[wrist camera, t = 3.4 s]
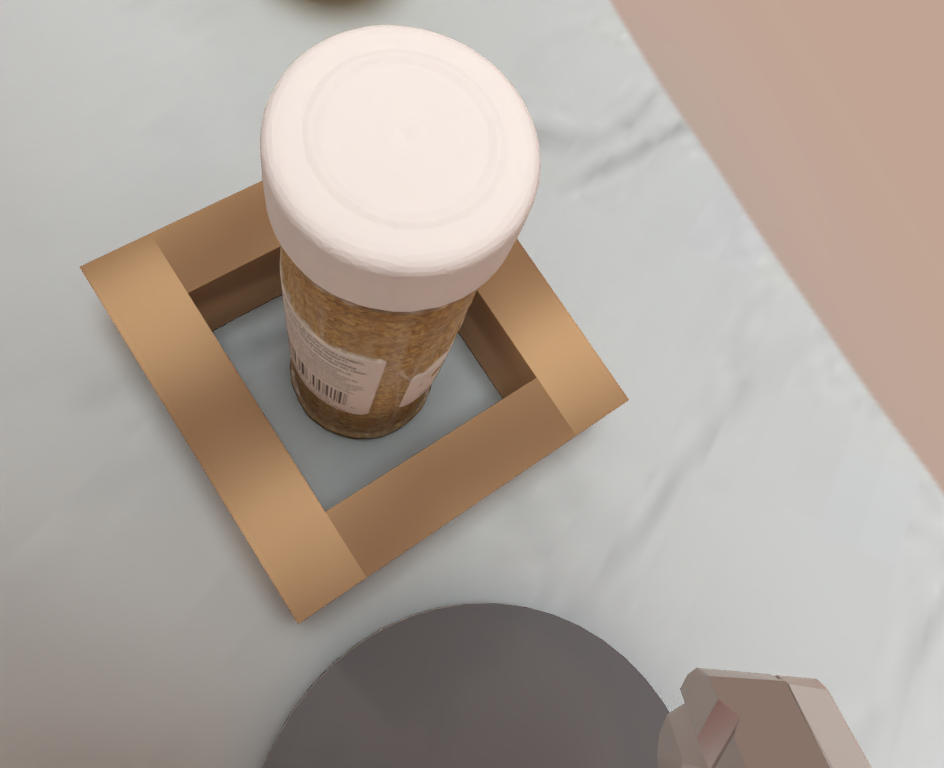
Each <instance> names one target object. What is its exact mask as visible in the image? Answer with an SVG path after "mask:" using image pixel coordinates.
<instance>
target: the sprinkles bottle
mask: <svg viewBox="0 0 944 768" xmlns="http://www.w3.org/2000/svg"><path fill="white" fill-rule="evenodd" d="M260 151H261V168H262V181H263V188H264V195H265V202H266V209H267V213H268V217H269V220H270V223H271V226H272V228H273V231H274V234H275V235H276V237H277V239H278V241H279V243H280V245H281V249H280V250H281V253H280V276H281V285H282V294H283V303H284V311H285V318H286V326H287V333H288V340H289V347H290V352H291V356H292V357H291V362H290V373H291V381H292V386H293V388H294V390H295V392H296V395H297V398H298V400H299V402H300V403H301V404H302V406H303V408H304V409H305V411H306V412H307V414H308V415H309V416H310V417H311V418H312V419H314V420H315V421H317V422H318V423H319V424H320V425H322V426H323V427H325V428H327V429H328V430H330V431H332V432H335V433H338V434H341V435H345V436H348V437H351V438H358V437H362V438H376V437H381V436H384V435H386V434H389V433H391V432H393V431H395V430H397V429H399V428H401V427H402V426H403V425H405V424H406V423H407V422H408V421H409V420H411V419H412V418H413V417H414V416H415V415H416V414H417V413H418V412H419V411H420V410H421V408H422V407H423V405H424V403H425V401H426V398H427V396H428V394H429V392H430V388H431V384H432V382H433V381H434V379H435V378H436V376H437V374H438V372H439V370H440V368H441V366H442V364H443V362H444V360H445V358H446V356H447V354H448V352H449V350H450V349H451V347H452V344H453V342H454V339H455V337H456V335H457V332H458V331H459V329H460V327H461V325H462V323H463V320H464V318H465V315H466V312H467V309H468V308H469V306H470V304H471V303H472V300H473V298H474V295H475V293H476V291H477V289H478V288H479V287H480V286H481V285H483V284H484V283H485V282H486V281H487V280H488V279H489V278H490V277H491V276H492V275H493V274H494V273H495V272H496V271H497V270H498V269H499V267H500V266H501V265H502V263H503V262H504V260H505V258H506V257H507V255H508V253H509V252H510V250H511V248H512V246H513V244H514V242H515V241H516V239H517V237H518V235H519V233H520V231H521V229H522V227H523V225H524V223H525V221H526V219H527V216H528V214H529V212H530V209H531V207H532V204H533V202H534V199H535V196H536V193H537V188H538V184H539V176H540V152H539V142H538V138H537V134H536V130H535V127H534V124H533V121H532V119H531V116H530V114H529V112H528V110H527V108H526V105H525V103H524V102H523V100H522V99H521V97H520V96H519V94H518V92H517V91H516V89H515V88H514V87H513V85H512V84H511V83H510V82H509V81H508V80H507V78H506V77H505V76H504V75H503V74H502V73H501V72H500V71H499V70H498V69H497V68H496V67H495V66H494V65H493V64H492V63H491V62H489V61H488V60H487V59H486V58H484V57H483V56H481V55H480V54H478V53H477V52H476V51H474V50H473V49H471V48H469V47H468V46H466V45H464V44H462V43H460V42H458V41H455V40H453V39H451V38H449V37H446V36H444V35H441V34H438V33H434V32H431V31H428V30H425V29H420V28H414V27H407V26H397V25H376V26H368V27H361V28H357V29H353V30H349V31H345V32H342V33H339V34H337V35H334V36H332V37H329V38H327V39H326V40H324V41H322V42H320V43H318V44H316V45H314V46H313V47H311V48H310V49H308V50H307V51H306V52H304V53H303V54H302V55H301V56H300V57H298V58H297V59H296V60H295V61H294V62H293V63H292V64H291V65H290V66H289V67H288V68H287V70H286V71H285V73H284V74H283V75H282V76H281V77H280V79H279V80H278V82H277V84H276V86H275V87H274V89H273V91H272V93H271V95H270V97H269V100H268V102H267V105H266V107H265V110H264V115H263V120H262V125H261V135H260Z"/></svg>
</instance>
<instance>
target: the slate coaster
mask: <svg viewBox="0 0 944 768" xmlns="http://www.w3.org/2000/svg"><path fill="white" fill-rule="evenodd" d="M668 713H669V711H668V710H667V708H666V706H665V704H664V703H663V701H662V700H661V699H660V697H659V696H658V695H657V693H656V692H655V691H654V689H653V688H652V687H651V685H650V684H649V683H648V681H647V680H646V679H645V678H644V677H643V676H642V675H641V674H640V673H639V672H638V671H637V670H636V669H635V667H634V666H633V665H632V664H631V663H630V662H629V661H628V660H627V659H626V658H625V657H623V656H622V655H621V654H620V653H618V652H617V651H616V650H615V649H613V648H612V647H611V646H610V645H608V644H607V643H606V642H605V641H603V640H602V639H600V638H598V637H597V636H595V635H593V634H592V633H590V632H588V631H587V630H585V629H583V628H582V627H580V626H578V625H576V624H574V623H571V622H569V621H567V620H564V619H562V618H560V617H557V616H555V615H552V614H549V613H545V612H541V611H538V610H534V609H530V608H527V607H519V606H512V605H504V604H493V603H484V604H459V605H452V606H446V607H439V608H434V609H431V610H428V611H424V612H421V613H417V614H414V615H411V616H408V617H406V618H404V619H401V620H399V621H397V622H395V623H392V624H390V625H388V626H386V627H383V628H382V629H380V630H378V631H377V632H375V633H373V634H372V635H370V636H369V637H367V638H365V639H364V640H362V641H360V642H359V643H357V644H356V645H355V646H354V647H352V648H351V649H350V650H349V651H347V652H346V653H345V654H344V655H342V656H341V657H340V658H339V659H337V660H336V661H335V662H334V663H333V664H332V665H331V666H330V667H329V668H328V669H327V670H326V671H325V672H324V673H323V674H322V675H321V676H320V677H319V678H318V679H317V680H316V681H315V682H314V683H313V684H312V685H311V687H310V688H309V689H308V691H307V692H306V693H305V694H304V696H303V697H302V698H301V700H300V701H299V702H298V704H297V705H296V706H295V708H294V709H293V710H292V712H291V713H290V715H289V717H288V719H287V720H286V722H285V724H284V725H283V727H282V729H281V730H280V732H279V734H278V736H277V737H276V739H275V741H274V743H273V745H272V748H271V750H270V752H269V755H268V757H267V759H266V761H265V764H264V766H263V768H658V761H657V751H658V740H659V733H660V730H661V728H662V726H663V723H664V721H665V719H666V717H667V714H668Z"/></svg>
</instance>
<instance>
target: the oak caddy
mask: <svg viewBox="0 0 944 768" xmlns="http://www.w3.org/2000/svg"><path fill="white" fill-rule="evenodd" d="M280 249H281V245H280V243H279V241H278V239H277V237H276V235H275V234H274V231H273V228H272V226H271V223H270V220H269V217H268V213H267V209H266V202H265V195H264V188H263V181H261V182H259V183H256V184H254V185H252V186H250V187H248V188H246V189H244V190H242V191H239V192H237V193H235V194H233V195H231V196H229V197H227V198H225V199H222V200H220V201H218V202H216V203H214V204H212V205H210V206H208V207H206V208H203V209H201V210H199V211H197V212H195V213H193V214H191V215H189V216H186V217H184V218H182V219H180V220H178V221H176V222H174V223H172V224H169V225H167V226H165V227H163V228H161V229H159V230H157V231H155V232H153V233H150V234H148V235H146V236H144V237H142V238H140V239H138V240H136V241H133V242H131V243H129V244H127V245H125V246H123V247H121V248H119V249H116V250H114V251H112V252H110V253H108V254H106V255H104V256H102V257H100V258H97V259H95V260H93V261H91V262H89V263H87V264H85V265H83V266H80V268H81V270H82V272H83V273H84V275H85V277H86V278H87V280H88V281H89V283H90V285H91V286H92V288H93V290H94V291H95V293H96V295H97V296H98V298H99V299H100V301H101V303H102V304H103V306H104V308H105V309H106V311H107V312H108V314H109V316H110V317H111V319H112V321H113V322H114V324H115V326H116V327H117V329H118V330H119V332H120V334H121V335H122V337H123V339H124V340H125V342H126V344H127V345H128V347H129V348H130V350H131V352H132V353H133V355H134V357H135V358H136V360H137V362H138V363H139V365H140V366H141V368H142V370H143V371H144V373H145V375H146V376H147V378H148V379H149V381H150V383H151V384H152V386H153V388H154V389H155V391H156V393H157V394H158V396H159V397H160V399H161V401H162V402H163V404H164V406H165V407H166V409H167V411H168V412H169V414H170V415H171V417H172V419H173V420H174V422H175V424H176V425H177V427H178V428H179V430H180V432H181V433H182V435H183V437H184V438H185V440H186V442H187V443H188V445H189V446H190V448H191V450H192V451H193V453H194V455H195V456H196V458H197V460H198V461H199V463H200V464H201V466H202V468H203V469H204V471H205V473H206V474H207V476H208V478H209V479H210V481H211V482H212V484H213V486H214V487H215V489H216V491H217V492H218V494H219V495H220V497H221V499H222V500H223V502H224V504H225V505H226V507H227V509H228V510H229V512H230V513H231V515H232V517H233V518H234V520H235V522H236V523H237V525H238V527H239V528H240V530H241V531H242V533H243V535H244V536H245V538H246V540H247V541H248V543H249V544H250V546H251V548H252V549H253V551H254V553H255V554H256V556H257V558H258V559H259V561H260V562H261V564H262V566H263V567H264V569H265V571H266V572H267V574H268V576H269V577H270V579H271V580H272V582H273V584H274V585H275V587H276V589H277V590H278V592H279V594H280V595H281V597H282V598H283V600H284V602H285V603H286V605H287V607H288V608H289V610H290V611H291V613H292V615H293V616H294V618H295V620H296V621H297V623H298V624H299V623H300V622H302V621H303V620H305V619H306V618H308V617H309V616H311V615H312V614H314V613H315V612H317V611H318V610H320V609H321V608H323V607H324V606H325V605H327V604H328V603H330V602H331V601H333V600H334V599H336V598H337V597H339V596H340V595H342V594H343V593H345V592H346V591H348V590H349V589H351V588H352V587H354V586H355V585H356V584H358V583H359V582H361V581H362V580H364V579H365V578H367V577H368V576H370V575H371V574H373V573H374V572H376V571H377V570H379V569H380V568H382V567H383V566H385V565H386V564H387V563H389V562H390V561H392V560H393V559H395V558H396V557H398V556H399V555H401V554H402V553H404V552H405V551H407V550H408V549H410V548H411V547H413V546H414V545H416V544H417V543H418V542H420V541H421V540H423V539H424V538H426V537H427V536H429V535H430V534H432V533H433V532H435V531H436V530H438V529H439V528H441V527H442V526H444V525H445V524H447V523H448V522H449V521H451V520H452V519H454V518H455V517H457V516H458V515H460V514H461V513H463V512H464V511H466V510H467V509H469V508H470V507H472V506H473V505H475V504H476V503H478V502H479V501H480V500H482V499H483V498H485V497H486V496H488V495H489V494H491V493H492V492H494V491H495V490H497V489H498V488H500V487H501V486H503V485H504V484H506V483H507V482H509V481H510V480H511V479H513V478H514V477H516V476H517V475H519V474H520V473H522V472H523V471H525V470H526V469H528V468H529V467H531V466H532V465H534V464H535V463H537V462H538V461H540V460H541V459H542V458H544V457H545V456H547V455H548V454H550V453H551V452H553V451H554V450H556V449H557V448H559V447H560V446H562V445H563V444H565V443H566V442H568V441H569V440H571V439H572V438H573V437H575V436H576V435H578V434H579V433H581V432H582V431H584V430H585V429H587V428H588V427H590V426H591V425H593V424H594V423H596V422H597V421H599V420H600V419H602V418H603V417H604V416H606V415H607V414H609V413H610V412H612V411H613V410H615V409H616V408H618V407H619V406H621V405H622V404H624V403H625V402H627V401H628V400H629V399H628V398H627V396H626V395H625V393H624V392H623V390H622V389H621V388H620V386H619V385H618V383H617V382H616V380H615V379H614V378H613V376H612V375H611V373H610V372H609V370H608V369H607V367H606V366H605V365H604V363H603V362H602V360H601V359H600V357H599V356H598V355H597V353H596V352H595V350H594V349H593V347H592V346H591V344H590V343H589V342H588V340H587V339H586V337H585V336H584V334H583V333H582V332H581V330H580V329H579V327H578V326H577V324H576V323H575V321H574V320H573V319H572V317H571V316H570V314H569V313H568V311H567V310H566V308H565V307H564V306H563V304H562V303H561V301H560V300H559V298H558V297H557V296H556V294H555V293H554V291H553V290H552V288H551V287H550V285H549V284H548V283H547V281H546V280H545V278H544V277H543V275H542V274H541V273H540V271H539V270H538V268H537V267H536V265H535V264H534V262H533V261H532V260H531V258H530V257H529V255H528V254H527V252H526V251H525V250H524V248H523V247H522V245H521V244H520V242H519V241H518V239H516V241H515V242H514V244H513V246H512V248H511V250H510V252H509V253H508V255H507V257H506V258H505V260H504V262H503V263H502V265H501V266H500V267H499V269H498V270H497V271H496V272H495V273H494V274H493V275H492V276H491V277H490V278H489V279H488V280H487V281H486V282H485V283H484V284H483V285H481V286H480V287H479V288H478V289H477V291H476V293H475V295H474V298H473V300H472V303H471V304H470V306H469V308H468V309H467V312H466V315H465V318H464V320H463V323H462V325H461V327H460V329H459V331H458V332H459V334H460V335H461V337H462V338H463V340H464V341H465V343H466V344H467V346H468V347H469V349H470V350H471V352H472V353H473V355H474V356H475V358H476V359H477V361H478V362H479V364H480V365H481V366H482V368H483V369H484V371H485V372H486V374H487V375H488V377H489V378H490V380H491V381H492V383H493V384H494V386H495V387H496V389H497V390H498V392H499V393H500V395H501V396H502V398H503V399H502V400H501V401H499V402H498V403H496V404H494V405H493V406H491V407H490V408H488V409H487V410H485V411H483V412H482V413H480V414H479V415H477V416H475V417H474V418H472V419H471V420H469V421H468V422H466V423H464V424H463V425H461V426H460V427H458V428H457V429H455V430H453V431H452V432H450V433H449V434H447V435H446V436H444V437H442V438H441V439H439V440H438V441H436V442H435V443H433V444H431V445H430V446H428V447H427V448H425V449H424V450H422V451H420V452H419V453H417V454H416V455H414V456H413V457H411V458H409V459H408V460H406V461H405V462H403V463H401V464H400V465H398V466H397V467H395V468H394V469H392V470H390V471H389V472H387V473H386V474H384V475H383V476H381V477H379V478H378V479H376V480H375V481H373V482H372V483H370V484H368V485H367V486H365V487H364V488H362V489H361V490H359V491H357V492H356V493H354V494H353V495H351V496H350V497H348V498H346V499H345V500H343V501H342V502H340V503H338V504H337V505H335V506H334V507H332V508H331V509H329V510H327V511H326V512H325V511H324V509H323V507H322V506H321V504H320V503H319V501H318V500H317V498H316V496H315V495H314V493H313V492H312V490H311V488H310V487H309V485H308V484H307V482H306V480H305V479H304V477H303V476H302V474H301V473H300V471H299V469H298V468H297V466H296V465H295V463H294V461H293V460H292V458H291V457H290V455H289V453H288V452H287V450H286V449H285V447H284V445H283V444H282V442H281V441H280V439H279V438H278V436H277V434H276V433H275V431H274V430H273V428H272V426H271V425H270V423H269V422H268V420H267V418H266V417H265V415H264V414H263V412H262V410H261V409H260V407H259V406H258V404H257V403H256V401H255V399H254V398H253V396H252V395H251V393H250V391H249V390H248V388H247V387H246V385H245V383H244V382H243V380H242V379H241V377H240V375H239V374H238V372H237V371H236V369H235V368H234V366H233V364H232V363H231V361H230V360H229V358H228V356H227V355H226V353H225V352H224V350H223V348H222V347H221V345H220V344H219V342H218V340H217V339H216V337H215V336H214V334H213V333H212V331H213V330H215V329H217V328H218V327H220V326H222V325H224V324H226V323H228V322H230V321H232V320H234V319H236V318H237V317H239V316H241V315H243V314H245V313H247V312H249V311H251V310H253V309H255V308H256V307H258V306H260V305H262V304H264V303H266V302H268V301H270V300H272V299H274V298H275V297H277V296H279V295H281V294H282V285H281V276H280V253H281V250H280Z"/></svg>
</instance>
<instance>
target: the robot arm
mask: <svg viewBox="0 0 944 768" xmlns="http://www.w3.org/2000/svg"><path fill="white" fill-rule="evenodd" d="M680 690H681V693H682V696H683V699H684V702H685V703H684V704H683V705H681V706H680V707H678V708H676V709H675V710H673V711H672V712H670V713H668V714H667V717H666V719H665V721H664V723H663V726H662V728H661V730H660V733H659V740H658V751H657V761H658V768H871V766H870V764H869V762H868V760H867V759H866V757H865V755H864V753H863V752H862V750H861V748H860V746H859V744H858V743H857V741H856V739H855V737H854V736H853V734H852V732H851V730H850V728H849V727H848V725H847V723H846V721H845V719H844V718H843V716H842V714H841V712H840V711H839V709H838V707H837V705H836V703H835V702H834V700H833V698H832V696H831V695H830V693H829V691H828V690H827V688H826V687H825V686H824V685H823V684H822V683H820V682H819V681H818V680H817V679H810V678H799V677H789V676H778V675H777V676H773V675H770V674H761V673H750V672H738V671H727V670H716V669H704V668H696V669H694V670H693V671H692V672H690V673H689V674H688V675H687V677H686V678H685V680H684V682H683V684H682V686H681V688H680Z"/></svg>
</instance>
